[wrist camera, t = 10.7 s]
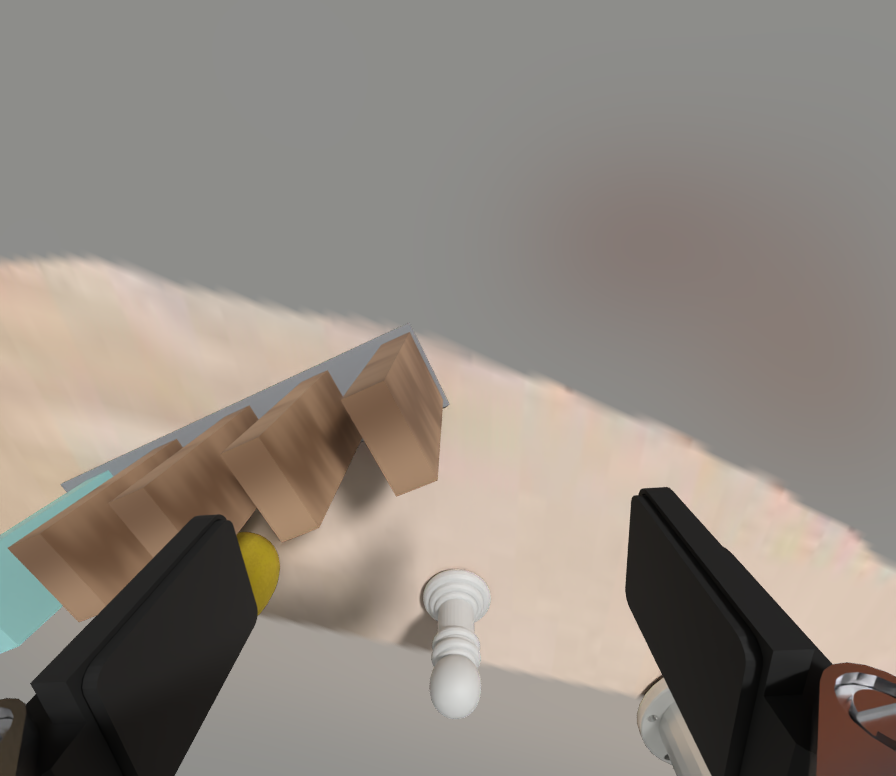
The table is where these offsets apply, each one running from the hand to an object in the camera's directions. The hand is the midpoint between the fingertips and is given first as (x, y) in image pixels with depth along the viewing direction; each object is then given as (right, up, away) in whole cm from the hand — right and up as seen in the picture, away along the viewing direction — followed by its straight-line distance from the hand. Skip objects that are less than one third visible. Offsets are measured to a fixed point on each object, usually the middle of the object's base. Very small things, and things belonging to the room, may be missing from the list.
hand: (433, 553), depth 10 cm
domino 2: (-13, 0, +19) cm, 23 cm away
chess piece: (+1, -12, +24) cm, 27 cm away
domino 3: (-7, +2, +18) cm, 20 cm away
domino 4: (-2, +5, +17) cm, 18 cm away
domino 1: (-18, -2, +20) cm, 27 cm away
